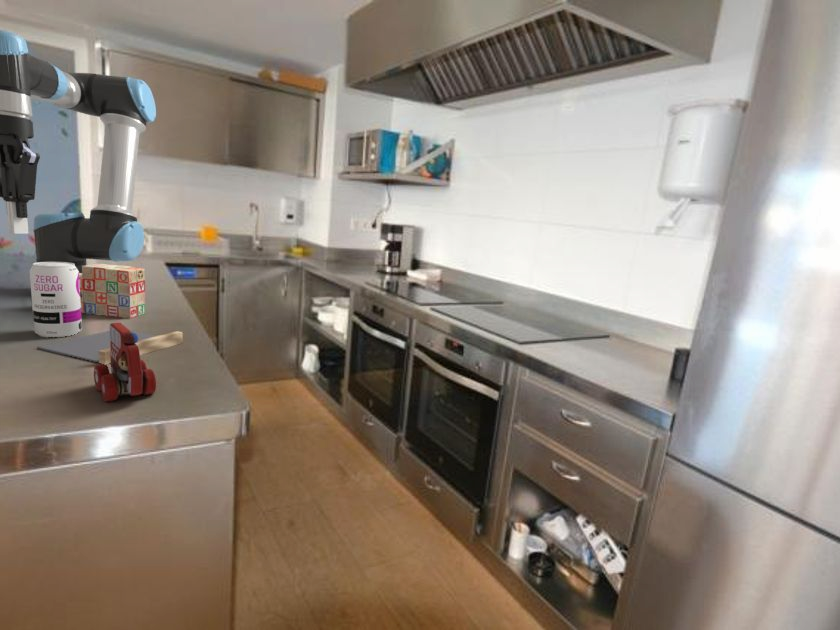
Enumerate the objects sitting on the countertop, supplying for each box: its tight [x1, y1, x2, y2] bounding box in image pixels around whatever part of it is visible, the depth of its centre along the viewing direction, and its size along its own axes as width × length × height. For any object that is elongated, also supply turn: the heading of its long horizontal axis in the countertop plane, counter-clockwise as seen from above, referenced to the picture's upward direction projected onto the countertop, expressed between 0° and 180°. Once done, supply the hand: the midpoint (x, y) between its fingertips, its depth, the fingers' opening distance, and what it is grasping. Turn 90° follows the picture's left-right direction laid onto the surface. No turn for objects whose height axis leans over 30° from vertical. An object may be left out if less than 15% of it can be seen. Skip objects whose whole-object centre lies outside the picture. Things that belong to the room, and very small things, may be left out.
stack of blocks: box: [79, 263, 146, 319], centre depth 123 cm, size 21×6×12 cm, turn 85°
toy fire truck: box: [93, 322, 157, 403], centre depth 77 cm, size 7×12×10 cm, turn 43°
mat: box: [36, 329, 157, 363], centre depth 100 cm, size 18×16×1 cm
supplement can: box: [29, 262, 83, 338], centre depth 103 cm, size 8×8×15 cm
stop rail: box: [98, 330, 184, 365], centre depth 97 cm, size 18×2×2 cm, turn 161°
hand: (18, 233), depth 103 cm, fingers closed
